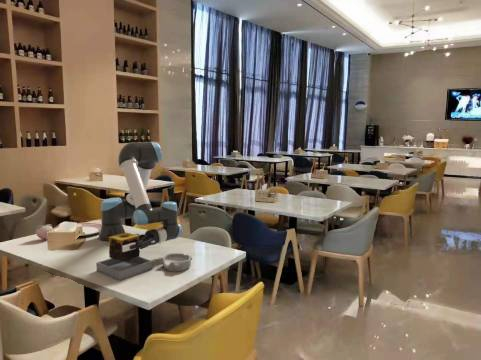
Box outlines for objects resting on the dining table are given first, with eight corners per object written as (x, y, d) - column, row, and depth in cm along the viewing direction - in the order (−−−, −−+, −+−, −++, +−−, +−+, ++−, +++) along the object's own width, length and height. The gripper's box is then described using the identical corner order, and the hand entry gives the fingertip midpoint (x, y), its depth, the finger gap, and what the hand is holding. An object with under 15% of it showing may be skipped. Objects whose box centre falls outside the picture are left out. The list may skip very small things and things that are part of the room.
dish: (179, 274, 179) (179, 264, 179) (155, 269, 186) (155, 258, 185) (197, 264, 192) (197, 255, 191) (175, 260, 198) (175, 250, 198)
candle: (121, 262, 176) (121, 240, 174) (108, 257, 182) (107, 236, 180) (140, 256, 184) (139, 235, 182) (126, 252, 190) (126, 232, 188)
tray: (96, 270, 183) (96, 262, 182) (129, 260, 196) (129, 253, 196) (119, 280, 171) (118, 272, 171) (152, 269, 185) (152, 261, 184)
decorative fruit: (42, 243, 224) (41, 226, 223) (34, 240, 228) (32, 224, 227) (57, 239, 232) (56, 222, 231) (48, 236, 236) (47, 220, 235)
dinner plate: (114, 231, 251) (114, 225, 251) (77, 241, 228) (77, 236, 227) (86, 225, 265) (85, 220, 264) (48, 234, 242) (48, 229, 241)
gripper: (170, 248, 189) (131, 260, 172) (141, 239, 203) (102, 249, 186) (170, 232, 188) (130, 243, 171) (141, 225, 202) (101, 234, 185)
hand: (115, 246), depth 179 cm, fingers closed on candle, 10 cm apart
